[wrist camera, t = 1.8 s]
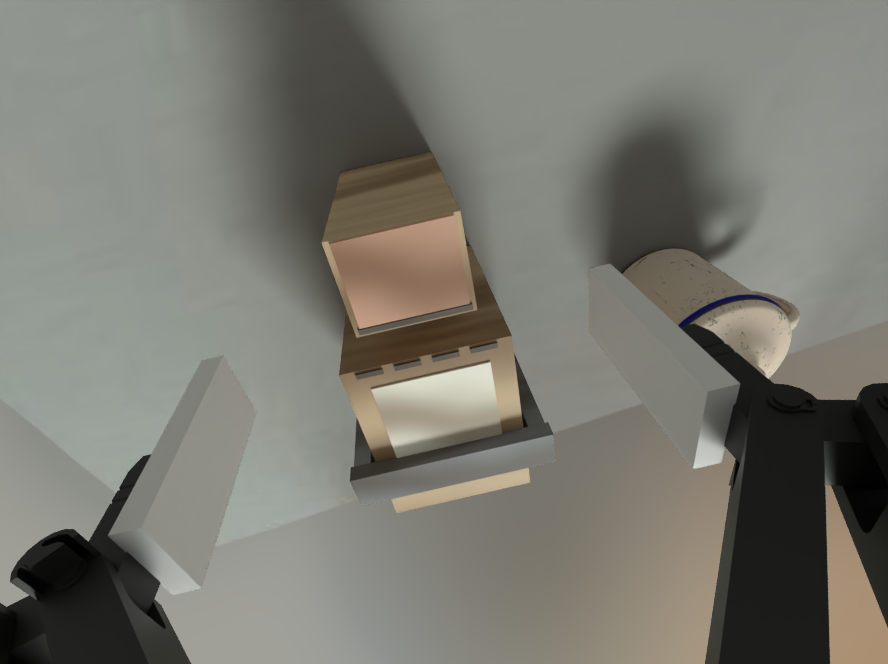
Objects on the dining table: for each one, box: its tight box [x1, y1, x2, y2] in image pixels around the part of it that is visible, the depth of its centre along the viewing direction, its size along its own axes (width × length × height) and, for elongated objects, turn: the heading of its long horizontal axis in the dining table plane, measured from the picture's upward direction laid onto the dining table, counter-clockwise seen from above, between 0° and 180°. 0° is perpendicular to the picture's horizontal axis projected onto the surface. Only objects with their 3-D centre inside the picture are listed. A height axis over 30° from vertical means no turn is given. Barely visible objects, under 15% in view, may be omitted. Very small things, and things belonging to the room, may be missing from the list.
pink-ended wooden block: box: [322, 152, 477, 338], centre depth 25 cm, size 5×6×12 cm
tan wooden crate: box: [339, 245, 555, 513], centre depth 31 cm, size 12×12×13 cm
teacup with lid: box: [622, 249, 800, 378], centre depth 32 cm, size 12×9×12 cm
